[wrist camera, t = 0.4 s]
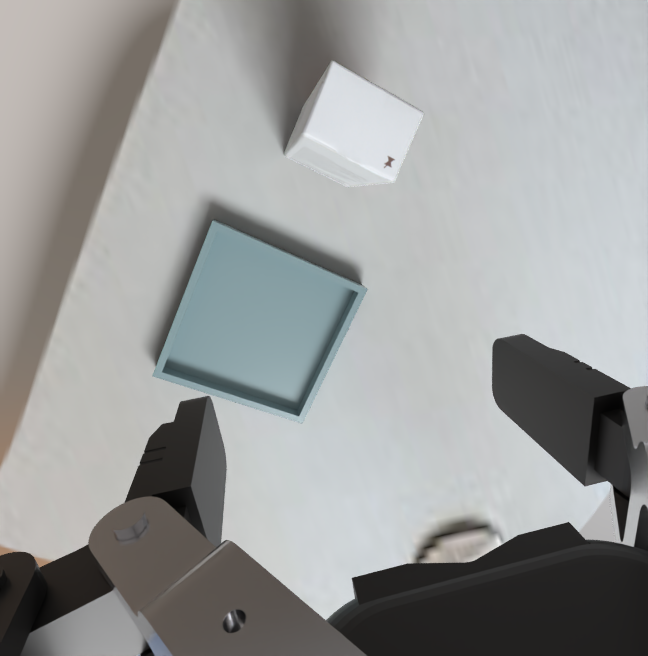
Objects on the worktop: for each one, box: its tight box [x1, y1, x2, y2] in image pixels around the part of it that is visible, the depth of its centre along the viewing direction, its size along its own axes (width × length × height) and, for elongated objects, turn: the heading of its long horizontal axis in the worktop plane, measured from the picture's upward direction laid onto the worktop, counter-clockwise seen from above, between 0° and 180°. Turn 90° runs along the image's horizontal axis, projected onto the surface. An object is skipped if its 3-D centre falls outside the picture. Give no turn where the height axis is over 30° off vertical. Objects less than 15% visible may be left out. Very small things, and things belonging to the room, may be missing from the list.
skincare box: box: [284, 61, 424, 187], centre depth 29 cm, size 6×4×12 cm
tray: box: [153, 220, 367, 423], centre depth 37 cm, size 14×14×2 cm
